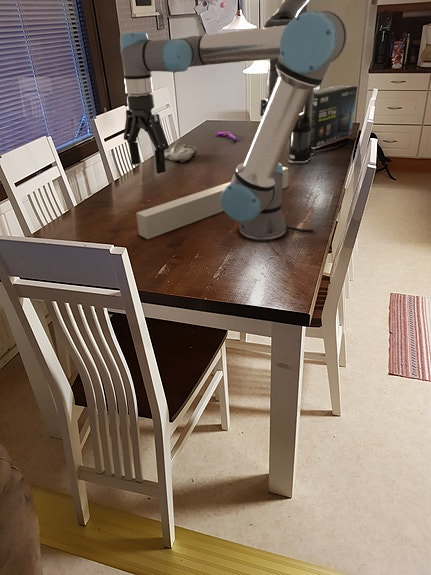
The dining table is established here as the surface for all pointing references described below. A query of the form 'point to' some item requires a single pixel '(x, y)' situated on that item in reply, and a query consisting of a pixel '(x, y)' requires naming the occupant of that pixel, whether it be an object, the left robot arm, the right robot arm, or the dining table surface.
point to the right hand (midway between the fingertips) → (275, 130)
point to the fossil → (180, 152)
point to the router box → (332, 113)
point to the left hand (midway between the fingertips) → (148, 168)
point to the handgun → (227, 133)
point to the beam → (184, 210)
